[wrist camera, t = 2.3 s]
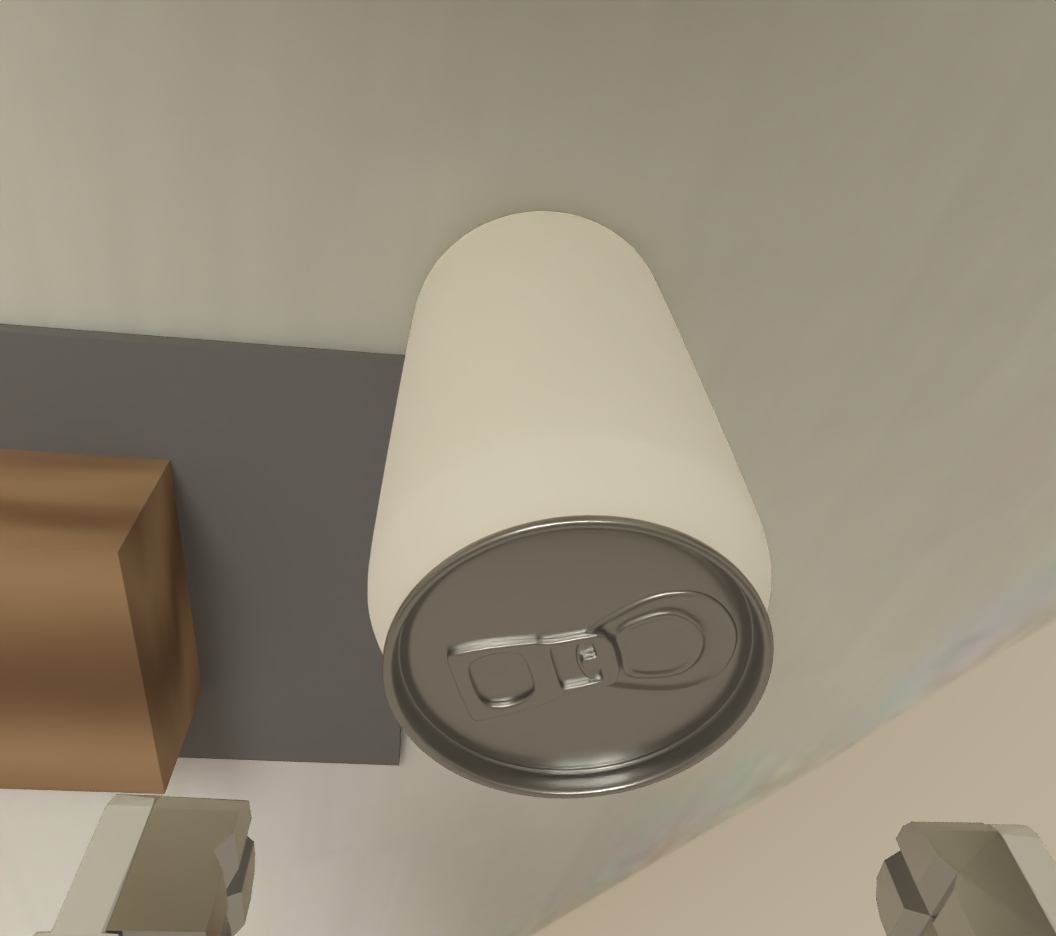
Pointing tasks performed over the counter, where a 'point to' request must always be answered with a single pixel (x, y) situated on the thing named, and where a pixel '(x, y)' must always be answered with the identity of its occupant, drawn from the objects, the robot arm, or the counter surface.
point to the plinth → (92, 624)
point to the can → (562, 525)
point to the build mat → (243, 516)
